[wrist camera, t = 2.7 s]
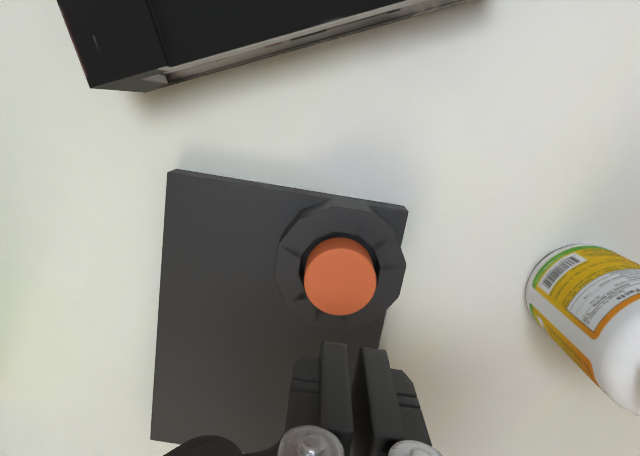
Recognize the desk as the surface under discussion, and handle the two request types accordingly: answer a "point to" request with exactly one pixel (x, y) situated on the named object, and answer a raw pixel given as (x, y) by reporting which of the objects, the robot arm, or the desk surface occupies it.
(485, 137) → the desk surface
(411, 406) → the robot arm
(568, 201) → the desk surface
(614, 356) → the supplement bottle
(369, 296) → the button
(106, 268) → the desk surface
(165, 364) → the scale
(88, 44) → the book
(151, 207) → the desk surface
